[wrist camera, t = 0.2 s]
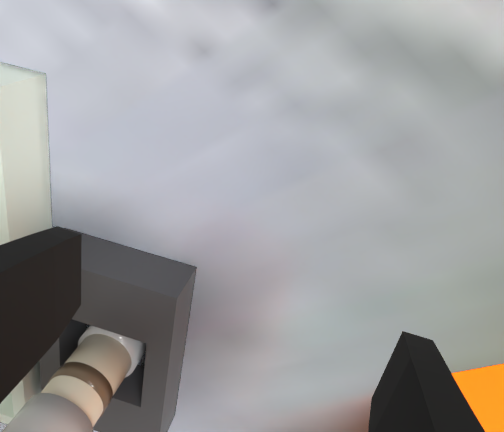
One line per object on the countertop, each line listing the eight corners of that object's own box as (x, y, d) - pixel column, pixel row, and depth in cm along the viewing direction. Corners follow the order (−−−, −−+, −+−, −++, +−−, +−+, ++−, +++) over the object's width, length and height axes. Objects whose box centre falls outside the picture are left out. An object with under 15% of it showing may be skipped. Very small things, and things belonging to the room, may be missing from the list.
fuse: (149, 359, 26) (67, 497, 19) (97, 342, 26) (-3, 471, 19) (154, 316, 24) (65, 450, 17) (98, 298, 25) (-10, 423, 18)
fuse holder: (174, 415, 28) (157, 452, 25) (68, 378, 28) (42, 411, 26) (196, 267, 22) (177, 298, 20) (64, 228, 23) (32, 253, 21)
